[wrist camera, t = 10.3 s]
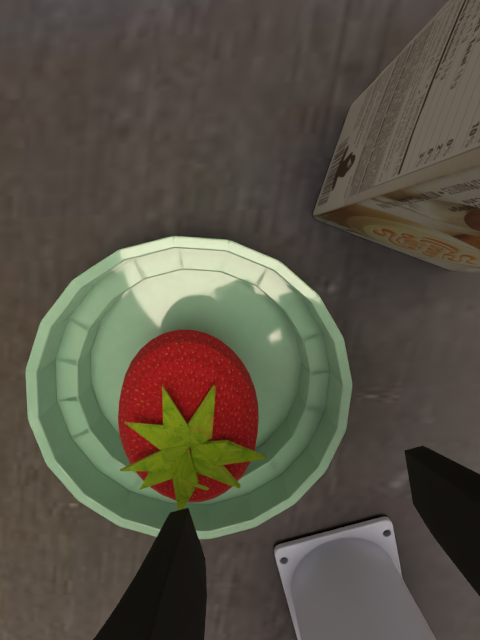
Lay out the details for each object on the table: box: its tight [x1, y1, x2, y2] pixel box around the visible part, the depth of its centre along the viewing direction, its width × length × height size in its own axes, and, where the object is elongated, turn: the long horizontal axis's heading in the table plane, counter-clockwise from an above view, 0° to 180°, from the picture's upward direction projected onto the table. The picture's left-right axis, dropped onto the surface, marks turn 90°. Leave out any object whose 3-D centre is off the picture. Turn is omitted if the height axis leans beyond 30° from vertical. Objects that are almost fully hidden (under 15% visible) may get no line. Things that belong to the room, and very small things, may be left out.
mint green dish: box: [26, 236, 352, 539], centre depth 19 cm, size 15×15×4 cm
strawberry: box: [118, 330, 266, 510], centre depth 16 cm, size 6×8×10 cm
